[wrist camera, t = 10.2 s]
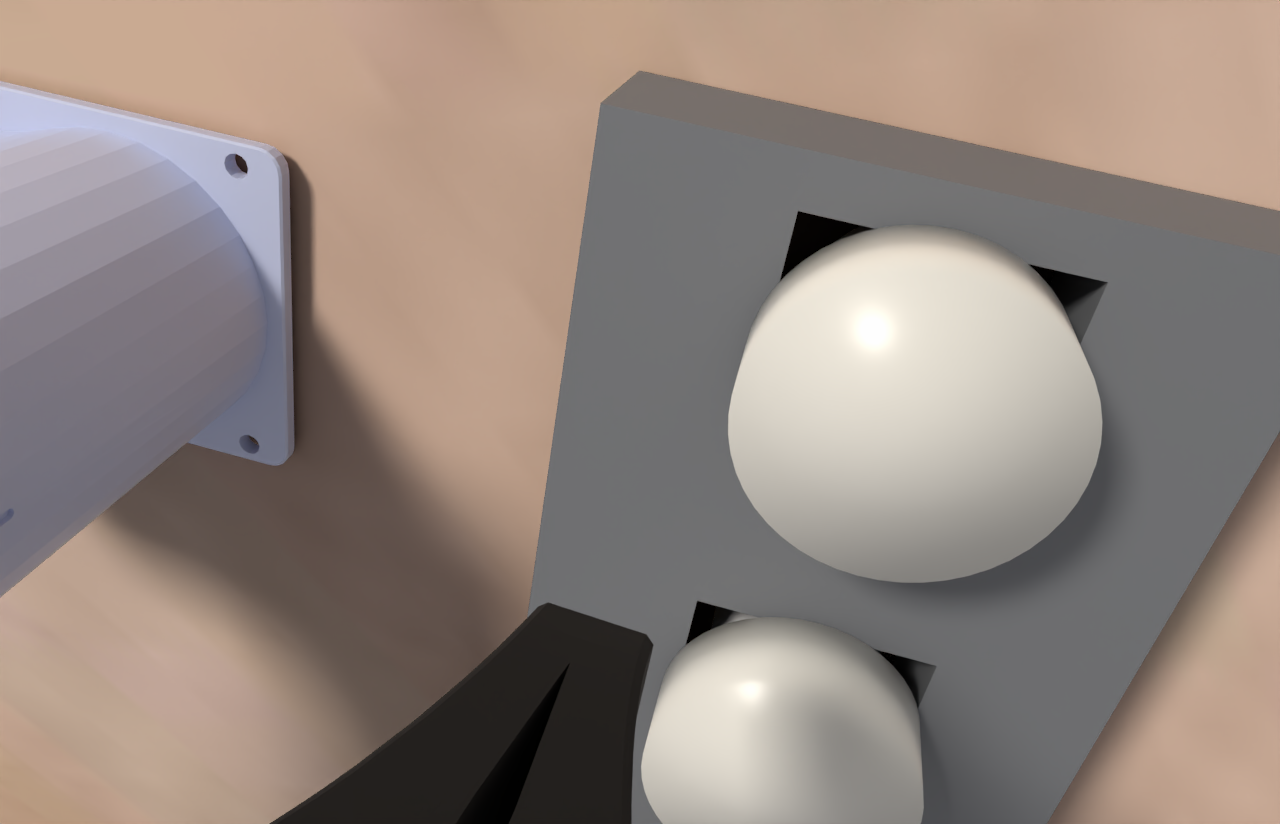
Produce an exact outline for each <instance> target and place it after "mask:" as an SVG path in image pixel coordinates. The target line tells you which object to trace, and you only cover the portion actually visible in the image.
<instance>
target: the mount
mask: <svg viewBox="0 0 1280 824" xmlns="http://www.w3.org/2000/svg"><path fill="white" fill-rule="evenodd" d="M798 211H800V212H804V213H809V214H813V215H817V216H822V217H826V218H830V219H835V220H839V221H843V222H848V223H852V224H856V225H861V226H865V227H869V228H874V229H878V228H883V227H889V226H901V225H931V226H939V227H945V228H951V229H957V230H961V231H964V232H967V233H971V234H974V235H977V236H980V237H983V238H985V239H987V240H989V241H992V242H994V243H996V244H998V245H1001V246H1002V247H1004V248H1005V249H1007V250H1009V251H1010V252H1012V253H1013V254H1015V255H1017V256H1018V257H1020V258H1021V259H1022V260H1023V261H1025V262H1026V263H1027V264H1030V265H1035V266H1039V267H1043V268H1048V269H1052V270H1056V271H1055V274H1054V276H1053V279H1052V281H1051V283H1050V287H1051V288H1052V290H1053V291H1054V293H1055V294H1056V296H1057V297H1058V299H1059V300H1060V302H1061V303H1062V305H1063V307H1064V309H1065V312H1066V314H1067V316H1068V318H1069V320H1070V323H1071V325H1072V327H1073V330H1074V332H1075V334H1076V337H1077V339H1078V341H1079V344H1080V346H1081V348H1082V351H1083V353H1084V355H1085V358H1086V360H1087V362H1088V365H1089V367H1090V369H1091V372H1092V374H1093V376H1094V379H1095V382H1096V386H1097V390H1098V393H1099V397H1100V402H1101V412H1102V437H1101V446H1100V450H1099V455H1098V459H1097V463H1096V466H1095V469H1094V471H1093V474H1092V476H1091V479H1090V481H1089V484H1088V486H1087V487H1086V489H1085V491H1084V492H1083V494H1082V496H1081V498H1080V499H1079V501H1078V503H1077V504H1076V505H1075V507H1074V508H1073V509H1072V510H1071V512H1070V513H1069V514H1068V515H1067V517H1066V518H1065V519H1064V520H1063V521H1062V522H1061V523H1060V524H1059V525H1058V526H1057V527H1056V528H1055V529H1054V530H1053V531H1052V532H1051V533H1050V534H1049V535H1048V536H1047V537H1045V538H1044V539H1043V540H1041V541H1040V542H1039V543H1037V544H1036V545H1035V546H1033V547H1032V548H1031V549H1029V550H1027V551H1026V552H1024V553H1022V554H1020V555H1019V556H1017V557H1015V558H1013V559H1012V560H1010V561H1008V562H1005V563H1003V564H1001V565H998V566H996V567H994V568H992V569H989V570H986V571H983V572H979V573H976V574H973V575H970V576H966V577H961V578H956V579H951V580H946V581H936V582H925V583H900V582H891V581H882V580H875V579H871V578H866V577H861V576H857V575H854V574H850V573H847V572H844V571H841V570H838V569H835V568H833V567H831V566H829V565H826V564H824V563H822V562H820V561H817V560H815V559H814V558H812V557H810V556H809V555H807V554H805V553H803V552H802V551H800V550H798V549H797V548H796V547H794V546H793V545H792V544H790V543H789V542H788V541H786V540H785V539H784V538H782V537H781V536H780V535H779V534H778V533H777V532H776V531H775V530H774V529H773V528H772V527H771V526H770V525H768V524H767V522H766V521H765V520H764V519H763V518H762V516H761V515H760V514H759V513H758V511H757V510H756V509H755V508H754V506H753V505H752V503H751V501H750V500H749V498H748V497H747V495H746V493H745V492H744V490H743V488H742V485H741V483H740V481H739V479H738V476H737V474H736V471H735V468H734V464H733V461H732V457H731V453H730V446H729V438H728V414H729V408H730V402H731V396H732V392H733V389H734V385H735V381H736V378H737V374H738V371H739V367H740V363H741V360H742V356H743V353H744V349H745V345H746V342H747V339H748V336H749V333H750V330H751V327H752V324H753V322H754V320H755V318H756V316H757V314H758V312H759V310H760V308H761V306H762V305H763V303H764V302H765V300H766V299H767V297H768V296H769V294H770V293H771V291H772V290H773V289H774V288H775V287H776V286H777V284H778V283H779V282H780V279H781V275H782V271H783V267H784V263H785V259H786V256H787V252H788V248H789V244H790V240H791V236H792V232H793V229H794V225H795V221H796V217H797V213H798ZM1279 432H1280V211H1276V210H1272V209H1267V208H1263V207H1258V206H1254V205H1249V204H1245V203H1240V202H1235V201H1231V200H1226V199H1222V198H1217V197H1213V196H1208V195H1204V194H1199V193H1194V192H1190V191H1185V190H1181V189H1176V188H1172V187H1167V186H1163V185H1158V184H1153V183H1149V182H1144V181H1140V180H1135V179H1131V178H1126V177H1122V176H1117V175H1112V174H1108V173H1103V172H1099V171H1094V170H1090V169H1085V168H1080V167H1076V166H1071V165H1067V164H1062V163H1058V162H1053V161H1049V160H1044V159H1039V158H1035V157H1030V156H1026V155H1021V154H1017V153H1012V152H1008V151H1003V150H998V149H994V148H989V147H985V146H980V145H976V144H971V143H967V142H962V141H957V140H953V139H948V138H944V137H939V136H935V135H930V134H926V133H921V132H916V131H912V130H907V129H903V128H898V127H894V126H889V125H885V124H880V123H875V122H871V121H866V120H862V119H857V118H853V117H848V116H843V115H839V114H834V113H830V112H825V111H821V110H816V109H812V108H807V107H802V106H798V105H793V104H789V103H784V102H780V101H775V100H771V99H766V98H761V97H757V96H752V95H748V94H743V93H739V92H734V91H730V90H725V89H720V88H716V87H711V86H707V85H702V84H698V83H693V82H689V81H684V80H679V79H675V78H670V77H666V76H661V75H657V74H652V73H648V72H643V71H638V72H637V73H636V74H635V75H634V76H633V77H631V78H630V79H629V80H628V81H627V82H625V83H624V84H623V85H622V86H621V87H619V88H618V89H617V90H616V91H615V92H614V93H612V94H611V95H610V96H609V97H608V98H606V99H605V100H604V101H603V102H602V103H601V105H600V112H599V119H598V126H597V133H596V140H595V147H594V154H593V161H592V168H591V175H590V182H589V189H588V196H587V203H586V210H585V217H584V224H583V231H582V238H581V245H580V252H579V259H578V266H577V273H576V280H575V287H574V294H573V301H572V308H571V315H570V322H569V329H568V336H567V343H566V350H565V357H564V364H563V371H562V378H561V385H560V392H559V399H558V406H557V413H556V420H555V427H554V434H553V441H552V448H551V455H550V462H549V469H548V476H547V483H546V490H545V497H544V504H543V511H542V518H541V525H540V532H539V539H538V546H537V553H536V560H535V567H534V575H533V582H532V589H531V596H530V603H529V610H528V617H529V616H530V615H531V613H532V612H533V611H534V610H535V609H536V608H537V607H538V606H540V605H543V604H545V603H548V602H549V603H552V604H555V605H558V606H561V607H564V608H567V609H570V610H573V611H576V612H579V613H582V614H586V615H589V616H592V617H595V618H598V619H601V620H604V621H607V622H610V623H613V624H616V625H619V626H622V627H626V628H629V629H632V630H635V631H638V632H641V633H644V634H647V636H648V637H649V639H650V640H651V642H652V643H653V645H654V646H653V650H652V654H651V659H650V663H649V667H648V671H647V676H646V680H645V684H644V688H643V693H642V697H641V701H640V705H639V710H638V714H637V719H636V728H635V738H634V751H633V777H632V824H663V823H662V822H661V821H660V819H659V818H658V817H657V816H656V814H655V812H654V810H653V809H652V807H651V805H650V803H649V801H648V799H647V796H646V793H645V791H644V787H643V782H642V774H641V764H642V757H643V752H644V748H645V744H646V740H647V736H648V733H649V729H650V725H651V721H652V718H653V714H654V710H655V706H656V703H657V699H658V695H659V691H660V687H661V684H662V681H663V678H664V675H665V672H666V670H667V668H668V667H669V665H670V663H671V661H672V660H673V659H674V657H675V656H676V655H677V654H678V652H679V651H680V650H681V649H682V648H684V647H685V646H686V642H687V638H688V634H689V630H690V626H691V622H692V619H693V615H694V611H695V607H696V603H697V601H700V602H704V603H707V604H711V605H715V606H718V607H722V608H726V609H729V610H733V611H737V612H740V613H744V614H748V615H751V616H755V617H759V618H762V617H783V618H792V619H800V620H805V621H810V622H815V623H819V624H822V625H825V626H828V627H831V628H834V629H837V630H840V631H842V632H844V633H846V634H849V635H851V636H853V637H855V638H857V639H858V640H860V641H862V642H863V643H865V644H867V645H869V646H870V647H871V648H873V649H876V650H880V651H883V652H887V653H891V654H894V655H897V656H896V658H895V661H894V663H893V666H894V667H895V669H896V670H897V671H898V672H899V673H900V675H901V676H902V677H903V678H904V680H905V682H906V683H907V685H908V687H909V688H910V690H911V692H912V694H913V697H914V699H915V702H916V704H917V708H918V713H919V718H920V738H921V758H922V778H923V800H924V810H923V816H922V821H921V824H1047V823H1048V821H1049V819H1050V818H1051V816H1052V814H1053V812H1054V811H1055V809H1056V807H1057V806H1058V804H1059V802H1060V801H1061V799H1062V797H1063V796H1064V794H1065V792H1066V791H1067V789H1068V787H1069V786H1070V784H1071V782H1072V780H1073V779H1074V777H1075V775H1076V774H1077V772H1078V770H1079V769H1080V767H1081V765H1082V764H1083V762H1084V760H1085V759H1086V757H1087V755H1088V754H1089V752H1090V750H1091V748H1092V747H1093V745H1094V743H1095V742H1096V740H1097V738H1098V737H1099V735H1100V733H1101V732H1102V730H1103V728H1104V727H1105V725H1106V723H1107V722H1108V720H1109V718H1110V716H1111V715H1112V713H1113V711H1114V710H1115V708H1116V706H1117V705H1118V703H1119V701H1120V700H1121V698H1122V696H1123V695H1124V693H1125V691H1126V690H1127V688H1128V686H1129V684H1130V683H1131V681H1132V679H1133V678H1134V676H1135V674H1136V673H1137V671H1138V669H1139V668H1140V666H1141V664H1142V663H1143V661H1144V659H1145V658H1146V656H1147V654H1148V652H1149V651H1150V649H1151V647H1152V646H1153V644H1154V642H1155V641H1156V639H1157V637H1158V636H1159V634H1160V632H1161V631H1162V629H1163V627H1164V626H1165V624H1166V622H1167V621H1168V619H1169V617H1170V615H1171V614H1172V612H1173V610H1174V609H1175V607H1176V605H1177V604H1178V602H1179V600H1180V599H1181V597H1182V595H1183V594H1184V592H1185V590H1186V589H1187V587H1188V585H1189V583H1190V582H1191V580H1192V578H1193V577H1194V575H1195V573H1196V572H1197V570H1198V568H1199V567H1200V565H1201V563H1202V562H1203V560H1204V558H1205V557H1206V555H1207V553H1208V551H1209V550H1210V548H1211V546H1212V545H1213V543H1214V541H1215V540H1216V538H1217V536H1218V535H1219V533H1220V531H1221V530H1222V528H1223V526H1224V525H1225V523H1226V521H1227V519H1228V518H1229V516H1230V514H1231V513H1232V511H1233V509H1234V508H1235V506H1236V504H1237V503H1238V501H1239V499H1240V498H1241V496H1242V494H1243V493H1244V491H1245V489H1246V487H1247V486H1248V484H1249V482H1250V481H1251V479H1252V477H1253V476H1254V474H1255V472H1256V471H1257V469H1258V467H1259V466H1260V464H1261V462H1262V461H1263V459H1264V457H1265V455H1266V454H1267V452H1268V450H1269V449H1270V447H1271V445H1272V444H1273V442H1274V440H1275V439H1276V437H1277V435H1278V434H1279ZM528 617H527V618H528Z"/></svg>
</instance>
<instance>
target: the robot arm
mask: <svg viewBox="0 0 1280 824" xmlns="http://www.w3.org/2000/svg"><path fill="white" fill-rule="evenodd" d="M236 154H237V155H239V156H241V157H242V158H243V159H244V160H245V161H246V163H247V167H248V172H247V173H245V172H243V171H241V170H240V168H239V167H238V166H237V164H236V160H235V156H236ZM249 436H251V437H253V438H255V439H256V441H257V442H258V444H259V445H257V444H255V443H253V442H252V441H251V439H250V438H249ZM186 443H190V444H194V445H197V446H201V447H205V448H208V449H212V450H216V451H220V452H223V453H227V454H231V455H234V456H238V457H242V458H245V459H249V460H253V461H256V462H260V463H264V464H268V465H274V466H278V465H281V464H283V463H284V462H285V461H286V460H287V459H288V458H289V457H290V456H291V455H292V454H293V452H294V393H293V340H292V287H291V233H290V180H289V168H288V163H287V161H286V160H285V158H284V156H283V154H281V153H280V152H279V151H278V150H277V149H276V148H275V147H273V146H270V145H268V144H265V143H261V142H257V141H252V140H248V139H244V138H240V137H235V136H231V135H227V134H223V133H218V132H214V131H210V130H206V129H202V128H197V127H193V126H189V125H185V124H180V123H176V122H172V121H168V120H163V119H159V118H155V117H151V116H147V115H142V114H138V113H134V112H130V111H125V110H121V109H117V108H113V107H108V106H104V105H100V104H96V103H91V102H87V101H83V100H79V99H75V98H70V97H66V96H62V95H58V94H53V93H49V92H45V91H41V90H36V89H32V88H28V87H24V86H19V85H15V84H11V83H7V82H3V81H0V597H1V596H3V595H4V594H5V593H6V592H8V591H9V590H10V589H11V588H12V587H14V586H15V585H16V584H17V583H18V582H20V581H21V580H22V579H23V578H24V577H26V576H27V575H28V574H29V573H30V572H32V571H33V570H34V569H35V568H36V567H38V566H39V565H40V564H41V563H43V562H44V561H45V560H46V559H47V558H49V557H50V556H51V555H52V554H53V553H55V552H56V551H57V550H58V549H59V548H61V547H62V546H63V545H64V544H65V543H67V542H68V541H69V540H70V539H71V538H73V537H74V536H75V535H76V534H77V533H79V532H80V531H81V530H82V529H84V528H85V527H86V526H87V525H88V524H90V523H91V522H92V521H93V520H94V519H96V518H97V517H98V516H99V515H100V514H102V513H103V512H104V511H105V510H106V509H108V508H109V507H110V506H111V505H112V504H114V503H115V502H116V501H117V500H119V499H120V498H121V497H122V496H123V495H125V494H126V493H127V492H128V491H129V490H131V489H132V488H133V487H134V486H135V485H137V484H138V483H139V482H140V481H141V480H143V479H144V478H145V477H146V476H147V475H149V474H150V473H151V472H152V471H154V470H155V469H156V468H157V467H158V466H160V465H161V464H162V463H163V462H164V461H166V460H167V459H168V458H169V457H170V456H172V455H173V454H174V453H175V452H176V451H178V450H179V449H180V448H181V447H182V446H184V445H185V444H186ZM653 646H654V645H653V643H652V642H651V640H650V639H649V637H648V636H647V634H644V633H641V632H638V631H635V630H632V629H629V628H626V627H622V626H619V625H616V624H613V623H610V622H607V621H604V620H601V619H598V618H595V617H592V616H589V615H586V614H582V613H579V612H576V611H573V610H570V609H567V608H564V607H561V606H558V605H555V604H552V603H549V602H548V603H545V604H543V605H540V606H538V607H537V608H536V609H535V610H534V611H533V612H532V613H531V615H530V616H529V617H528V618H527V619H526V620H525V621H524V622H523V623H522V624H521V625H520V626H519V627H518V628H517V629H516V630H515V631H514V632H513V633H512V634H511V635H510V636H509V637H508V638H507V639H506V640H505V641H504V642H503V643H502V644H501V645H500V646H499V647H498V648H497V649H496V650H495V651H494V652H493V653H492V654H490V655H489V656H488V657H487V658H486V659H485V660H484V661H483V662H482V663H481V664H480V665H478V666H477V667H476V668H475V669H474V670H473V671H472V672H471V673H470V674H469V675H468V676H466V677H465V678H464V679H463V680H462V681H461V682H459V683H458V684H457V685H456V686H455V687H454V688H452V689H451V690H450V691H449V692H448V693H447V694H445V695H444V696H443V697H442V698H441V699H439V700H438V701H437V702H436V703H435V704H434V705H432V706H431V707H430V708H429V709H428V710H427V711H425V712H424V713H423V714H422V715H421V716H419V717H418V718H417V719H416V720H414V721H413V722H412V723H411V724H410V725H408V726H407V727H406V728H404V729H403V730H402V731H400V732H399V733H398V734H396V735H395V736H394V737H393V738H391V739H390V740H389V741H387V742H386V743H385V744H383V745H382V746H381V747H379V748H378V749H377V750H375V751H374V752H373V753H372V754H370V755H369V756H368V757H366V758H365V759H364V760H362V761H361V762H360V763H358V764H357V765H356V766H354V767H353V768H352V769H350V770H349V771H347V772H346V773H345V774H343V775H342V776H340V777H339V778H338V779H336V780H335V781H333V782H332V783H330V784H329V785H328V786H326V787H325V788H323V789H322V790H320V791H319V792H317V793H316V794H314V795H313V796H311V797H310V798H308V799H307V800H305V801H304V802H302V803H301V804H299V805H298V806H296V807H295V808H293V809H292V810H290V811H288V812H287V813H285V814H284V815H282V816H281V817H279V818H278V819H276V820H275V821H273V822H271V823H270V824H632V777H633V751H634V738H635V728H636V719H637V714H638V710H639V705H640V701H641V697H642V693H643V688H644V684H645V680H646V676H647V671H648V667H649V663H650V659H651V654H652V650H653Z"/></svg>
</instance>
